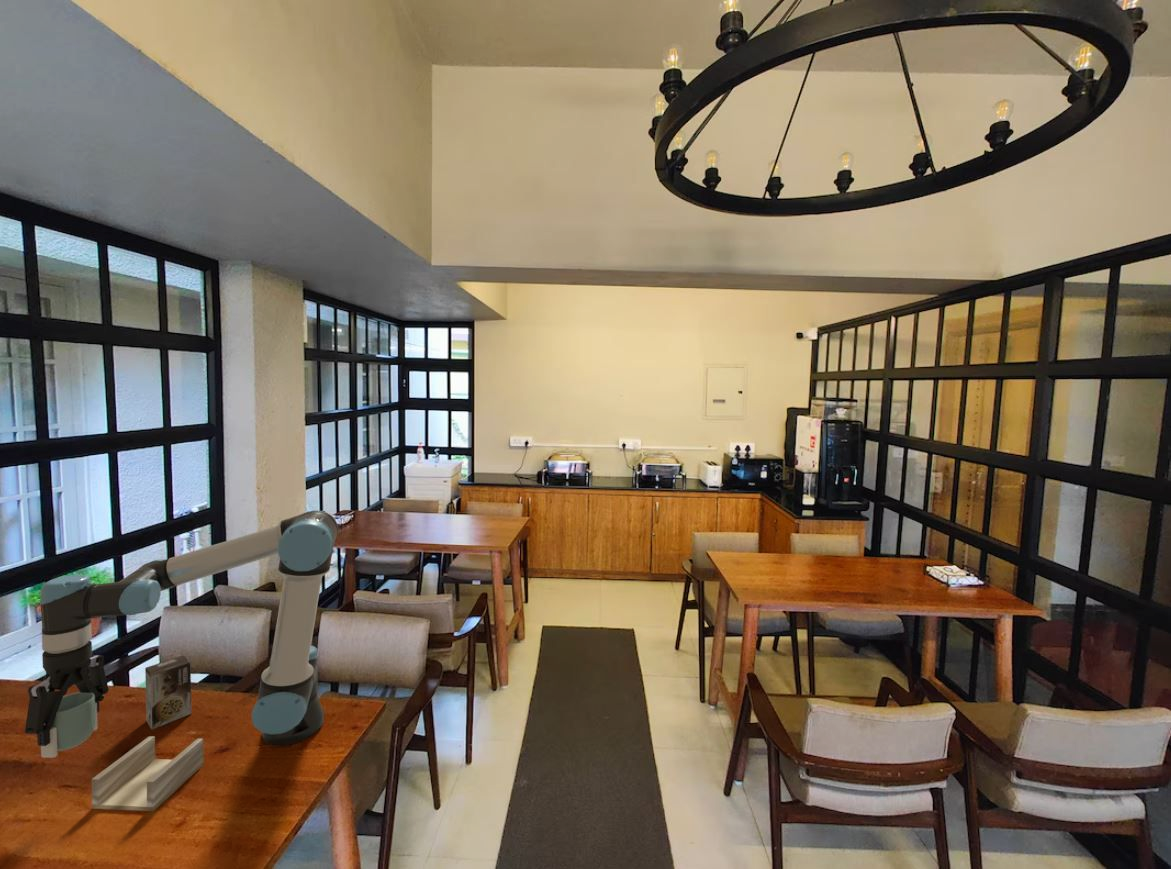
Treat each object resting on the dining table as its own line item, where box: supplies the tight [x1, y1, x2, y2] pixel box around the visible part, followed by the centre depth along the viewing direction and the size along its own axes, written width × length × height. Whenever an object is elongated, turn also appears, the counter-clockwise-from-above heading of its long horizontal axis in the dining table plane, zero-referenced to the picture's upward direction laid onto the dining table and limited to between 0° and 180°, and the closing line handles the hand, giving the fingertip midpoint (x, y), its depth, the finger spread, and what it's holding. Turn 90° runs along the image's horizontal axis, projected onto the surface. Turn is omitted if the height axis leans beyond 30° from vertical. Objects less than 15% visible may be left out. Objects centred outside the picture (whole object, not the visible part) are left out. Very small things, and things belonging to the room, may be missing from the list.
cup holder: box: [91, 736, 204, 812], centre depth 114 cm, size 14×14×7 cm
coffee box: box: [144, 655, 193, 730], centre depth 138 cm, size 9×6×16 cm
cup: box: [44, 691, 96, 752], centre depth 107 cm, size 8×8×10 cm
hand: (70, 742), depth 107 cm, fingers closed on cup, 8 cm apart
